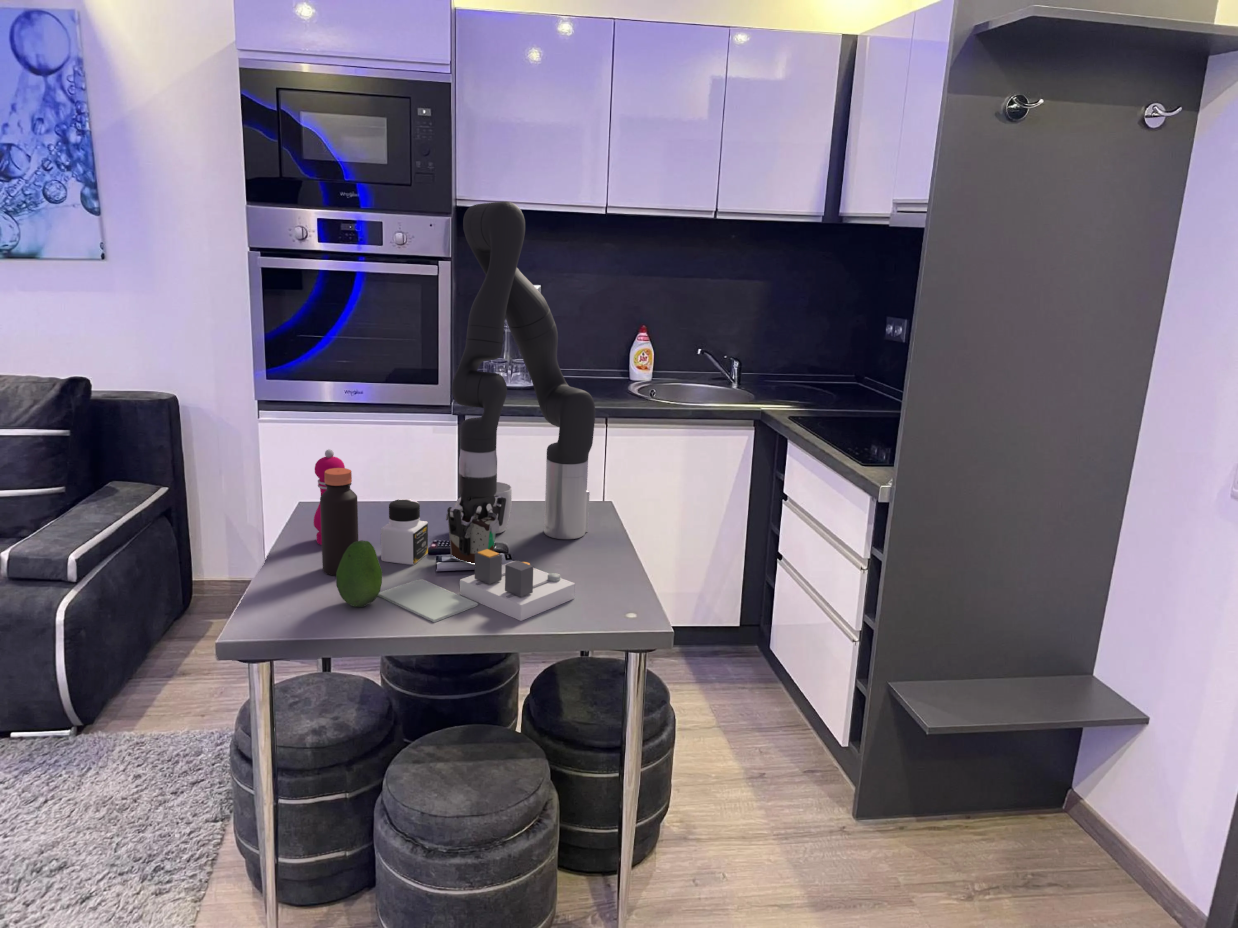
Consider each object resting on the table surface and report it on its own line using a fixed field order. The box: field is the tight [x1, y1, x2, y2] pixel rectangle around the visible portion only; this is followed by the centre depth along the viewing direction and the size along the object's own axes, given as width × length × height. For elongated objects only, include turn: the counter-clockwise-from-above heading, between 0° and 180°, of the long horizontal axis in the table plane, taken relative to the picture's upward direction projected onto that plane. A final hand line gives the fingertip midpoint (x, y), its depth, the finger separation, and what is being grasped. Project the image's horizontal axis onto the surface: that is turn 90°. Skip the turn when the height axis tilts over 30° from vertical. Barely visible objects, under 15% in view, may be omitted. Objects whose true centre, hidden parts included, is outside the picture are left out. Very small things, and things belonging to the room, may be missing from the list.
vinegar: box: [319, 467, 359, 577], centre depth 172 cm, size 7×7×20 cm
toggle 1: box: [474, 549, 503, 585], centre depth 165 cm, size 3×4×5 cm
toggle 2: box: [505, 560, 534, 597], centre depth 160 cm, size 3×4×5 cm
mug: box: [453, 481, 513, 535], centre depth 200 cm, size 13×9×10 cm
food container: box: [445, 512, 499, 563], centre depth 182 cm, size 12×6×10 cm, turn 58°
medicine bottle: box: [380, 498, 429, 566], centre depth 181 cm, size 7×7×12 cm
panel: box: [459, 560, 576, 622], centre depth 166 cm, size 14×16×4 cm
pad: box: [377, 578, 479, 623], centre depth 163 cm, size 10×16×1 cm, turn 51°
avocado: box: [335, 539, 383, 608], centre depth 158 cm, size 8×8×12 cm
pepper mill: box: [313, 448, 346, 546], centre depth 187 cm, size 7×7×20 cm
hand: (476, 550), depth 183 cm, fingers open, 5 cm apart
